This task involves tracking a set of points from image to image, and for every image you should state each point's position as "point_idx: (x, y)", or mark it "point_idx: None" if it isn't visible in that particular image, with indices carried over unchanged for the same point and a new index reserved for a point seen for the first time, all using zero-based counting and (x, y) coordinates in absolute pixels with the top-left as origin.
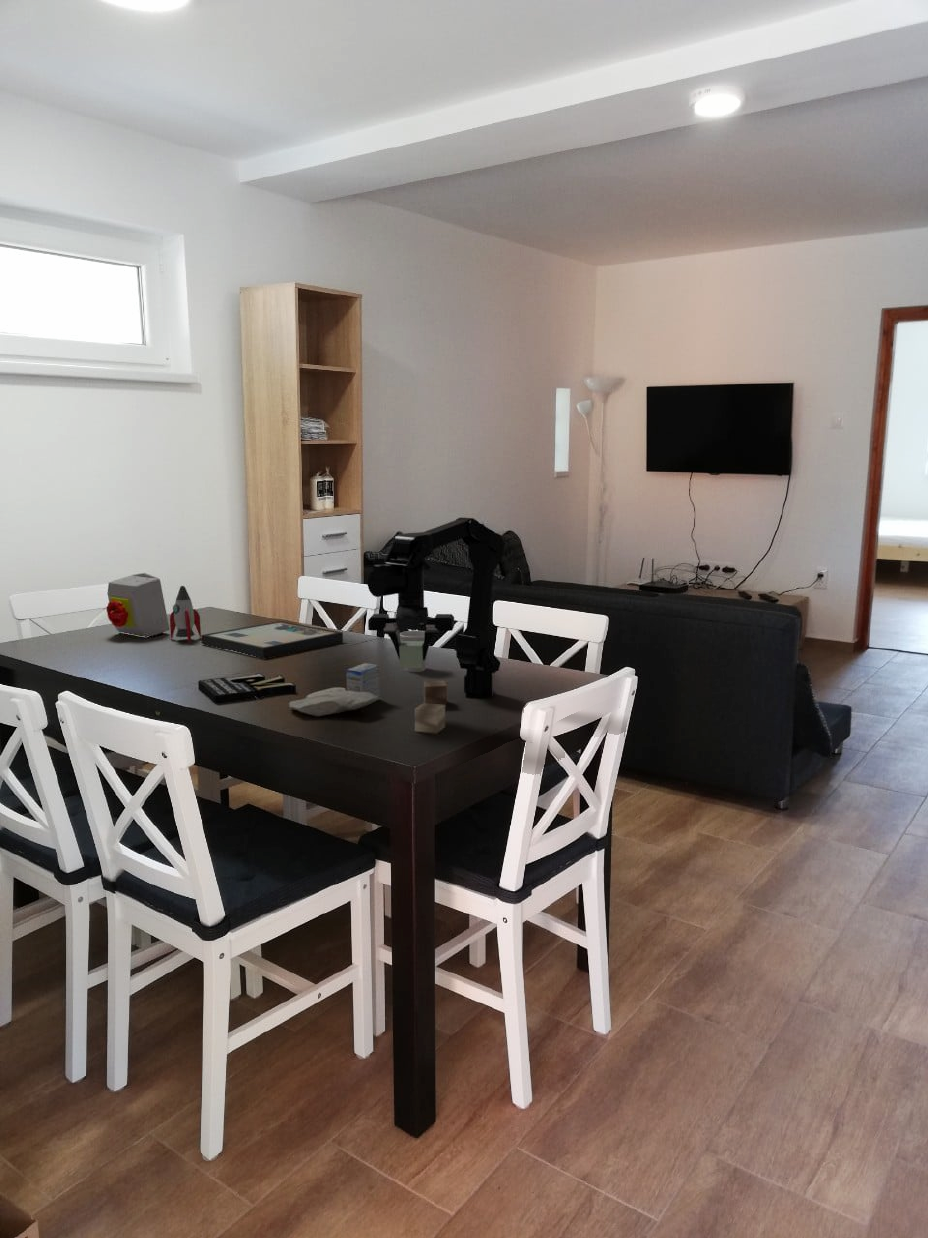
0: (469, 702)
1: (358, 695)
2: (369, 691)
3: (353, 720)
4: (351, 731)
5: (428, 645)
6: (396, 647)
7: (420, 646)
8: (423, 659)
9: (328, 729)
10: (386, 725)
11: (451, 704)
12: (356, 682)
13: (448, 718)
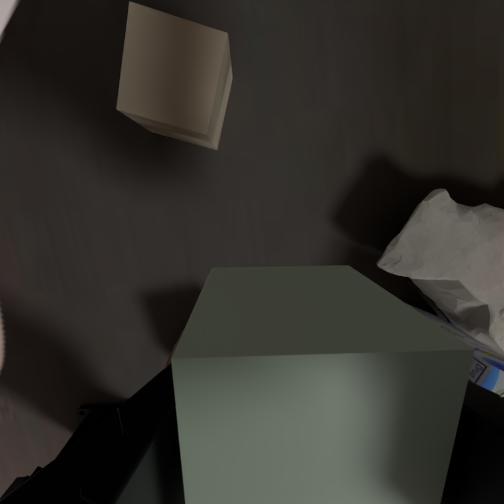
0: (130, 366)
1: (449, 249)
2: None
3: (418, 181)
4: (421, 63)
5: (102, 421)
6: (472, 389)
7: (190, 354)
8: None
9: (488, 81)
10: (322, 136)
11: (173, 346)
12: (473, 345)
13: (157, 219)
